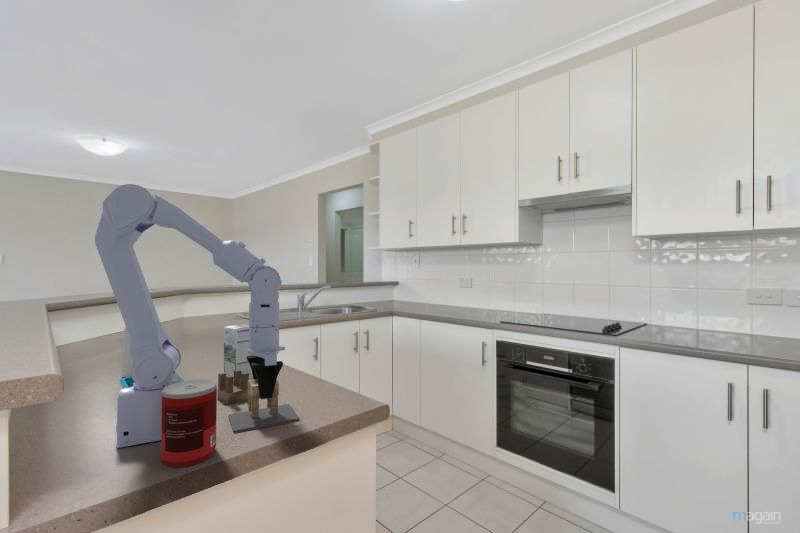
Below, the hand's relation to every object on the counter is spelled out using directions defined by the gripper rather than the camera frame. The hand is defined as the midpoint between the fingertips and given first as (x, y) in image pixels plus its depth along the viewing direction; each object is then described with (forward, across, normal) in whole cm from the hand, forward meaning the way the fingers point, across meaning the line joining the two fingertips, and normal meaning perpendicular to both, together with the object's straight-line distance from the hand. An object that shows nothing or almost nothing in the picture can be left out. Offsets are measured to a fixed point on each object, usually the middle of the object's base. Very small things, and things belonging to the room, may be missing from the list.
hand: (263, 394), depth 75 cm
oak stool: (+3, 0, 0) cm, 4 cm away
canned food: (+5, -10, +13) cm, 17 cm away
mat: (+5, 0, 0) cm, 5 cm away
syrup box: (+5, +31, +1) cm, 31 cm away
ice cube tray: (+5, +28, +20) cm, 35 cm away
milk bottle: (+5, +50, +25) cm, 56 cm away
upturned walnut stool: (+5, +15, +4) cm, 16 cm away
